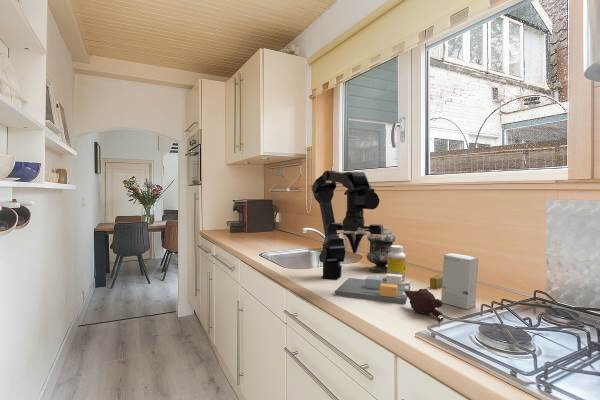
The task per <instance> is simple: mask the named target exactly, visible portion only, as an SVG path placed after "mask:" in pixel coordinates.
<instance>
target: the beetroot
mask: <svg viewBox="0 0 600 400" xmlns="http://www.w3.org/2000/svg"><path fill="white" fill-rule="evenodd" d="M404 292H405V294H406V295H407V299H409V304H410V307H411V309H412V310H413V311H414V312H415V313H421V314H423V315H429V314H432V315H433V316H434V317H435V318H436V319H437V320H439V319H438V316H439V315H443V316H444V314H443V313H442V312H441V311H440V310H438V309H440V308H442V307H443V303H442V301H441V300H440V299H439V298H435V296H434V294H433V293H432V292H430V291H429V290H428V289H427V288H420V289H418V290H410V291H404ZM443 320H444V319H443V318H441V320H440V321H443Z"/></svg>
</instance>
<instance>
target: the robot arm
mask: <svg viewBox="0 0 600 400" xmlns="http://www.w3.org/2000/svg"><path fill="white" fill-rule="evenodd" d="M337 183H338V184H341V185H342V186H343V187H344V188H346V189H347V190H346V191H344V193H343V195H345V196H346V211H345V216H344V218H343V220H342V222H336V221H335V220H336V219H335V216H334V208H333V203H332V200H333V197H334V195H335V194H334V191H335V190H336V188H337ZM311 190H312V193H313V198H314V199H315V200H316V202H317V203H318V204H319V209H320V215H321V220H322V221H321V222H322V226H323V231H324V241H323V242H322V250H321V251H320V254H319V255H318V259H319V262H320V263H322V275H321V279H329V280H339V279H340V278H341V277H342V265H341V263H343V262H345V258H346V252H347V251H346V245H345V241H344V240H345V239H344V238H343V237H339V234H338V231H343V232H342V235H343V236H345V237H347V240H348V241H349V242H348V243H349V244H350V247H351V251H352V253H353V254H357V252H358V248H359V246H360V243H361V241H362V239H363V237H364V236H366V235H368V234H367V232H368V233H369V234H370V233H371V234H382V233H383V228H384V226H383V224H380V223H379V224H377V223H376V224H375V223H371V224H369V225H365V224H366V223H365V217H364V213H365V211H364V210H376V208H378V206H379V205H380V201H381V200H380V197H379V195H378V194H377V193H376V192H375V188H373V187H372V185H371V184H370V182H369V179H368V177H367V175H366V173H365V172H363V171H361V172H360V171H346V172H341V171H336V170H325V171H323V173H322V175H320V176H319V177H317V178H316V179H315V180H314V182H313V184H312V188H311ZM355 232H356V233H355Z"/></svg>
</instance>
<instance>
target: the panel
mask: <svg viewBox="0 0 600 400" xmlns="http://www.w3.org/2000/svg"><path fill="white" fill-rule="evenodd" d="M382 283H386V281H383V280H382ZM404 291H411V281H410V280H407V281H406V283H403V282H402V285H401V286H399V285H398V295H397V297H389V296H380V289H374V288H366V278H365V279H362V278H353V277H348V278H347V279H346V280H345V281H344V282H343V283H342V284H340V286H338V287H337V289H335V290H334V296H339V297H346V298H354V299H355V298H356V299H362V300H369V301H378V302H387V303H393V304H394V303H395V304H404V305H406V304H407V300H408V297H407V295H406V294H405V292H404Z"/></svg>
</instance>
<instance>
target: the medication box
mask: <svg viewBox="0 0 600 400" xmlns="http://www.w3.org/2000/svg"><path fill="white" fill-rule="evenodd" d="M442 280H443V273H440V274H439V275H435V276H430V277H429V286H430V287H429V288H430V289H433V290H438V289H442Z"/></svg>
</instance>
